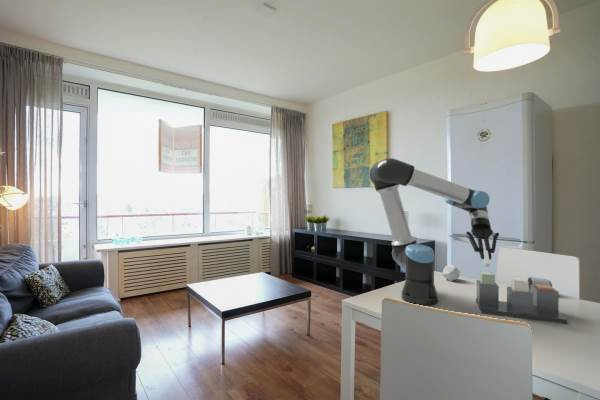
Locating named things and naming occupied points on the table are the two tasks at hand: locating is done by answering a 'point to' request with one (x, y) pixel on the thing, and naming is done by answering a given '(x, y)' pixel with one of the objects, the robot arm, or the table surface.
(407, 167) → the robot arm
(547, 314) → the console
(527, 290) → the ivory button
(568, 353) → the table surface
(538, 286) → the terracotta button
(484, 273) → the sage button
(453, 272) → the crumpled paper ball
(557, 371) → the table surface
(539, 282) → the ceramic mug
